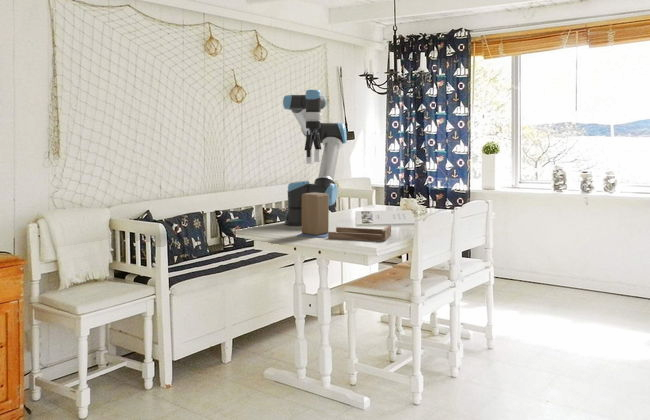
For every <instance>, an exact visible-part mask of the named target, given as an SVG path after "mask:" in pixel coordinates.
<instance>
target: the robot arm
mask: <svg viewBox="0 0 650 420" xmlns="http://www.w3.org/2000/svg"><path fill="white" fill-rule="evenodd" d="M327 103H328V101H327V98H326V97H325V96H324V95H322V93H321V90H320V89H307V90H306V91H305V94H287V95H284V97H283V99H282V105H283V108H284V110H290V111H291V112H292V113H293V116H294V118H295V119H296V120H297V122H298V124H299V126H300V130H301V133H302V134H303V136H305V138H306V139H305V145H304V151H305V152H306V153H305V154H306V156H305V157H306V158H305V159H306V161H305V162H306V163H305V164H309V165H311V164H313V162H314V163H320V166H319V171H318V172H319V173H318V176H317V177H316V178H315V179H314V183H310V181H309V180H302V181H301V180H300V181H296V182H295V181H294V182H290V183H289V184H288V186H287V191H286V192H287V212H286V214H285V218H284V224H285V225H287V226H295V227H296V226H297V227H298V226H302V194H305V193H313V192H316V193H327V194H328V195H329V206H333V205H334V204H335V203H336V202H337V198H338V190H339V189H338V186H337V184H336V181H334V179H335V174H336V168H337V163H338V158H339V157H338V156H339V151H340V149H341V148H342V147H343V144H346V143H347V137H348V135H347V128H346V125H345V124H344V123H342V122H321V117H322V114H321V111H322V110H323V109H325V108H326V106H327ZM321 145H323V150H322V146H321ZM313 147H314V151H313V150H312V148H313ZM320 150H322V151H323V152H322V155H321V153H320V152H321V151H320ZM313 152H314V153H313ZM320 156H321V157H320ZM320 158H321V159H320ZM313 159H314V160H313ZM320 161H321V162H320Z"/></svg>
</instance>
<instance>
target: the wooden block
mask: <svg viewBox="0 0 650 420" xmlns="http://www.w3.org/2000/svg"><path fill="white" fill-rule="evenodd" d="M329 208H330V207H329V195H328V194H327V193H316V192H313V193H305V194H302V225H301V233H303V234H308V235H315V236H317V235H322V234H326V233H328V232H329V226H330V225H329V224H330V223H329V211H330V210H329Z"/></svg>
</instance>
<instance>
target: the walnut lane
mask: <svg viewBox="0 0 650 420" xmlns="http://www.w3.org/2000/svg"><path fill="white" fill-rule="evenodd" d="M390 237H392V225H387V226H386V227H384V228H382V229H381V228H380V229H379V228H365V227H364V228H362V227H345V226H344V227H343V226H342V227H341V226H339V227H338V226H336V228H335V231H328V236H327V239H333V240H351V241H352V240H353V241H354V240H355V241H373V242H375V241H376V242H386V241H387V240H388V239H389V238H390Z"/></svg>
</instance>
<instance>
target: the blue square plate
mask: <svg viewBox="0 0 650 420" xmlns="http://www.w3.org/2000/svg"><path fill="white" fill-rule="evenodd" d="M300 236H306V237H305V238H319V239H321V238H323V239H326V238H328V233H326V234H322V235H317V236H315V235H308V234H303V233H302V232H301V233H299V234H297V237H300Z"/></svg>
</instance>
